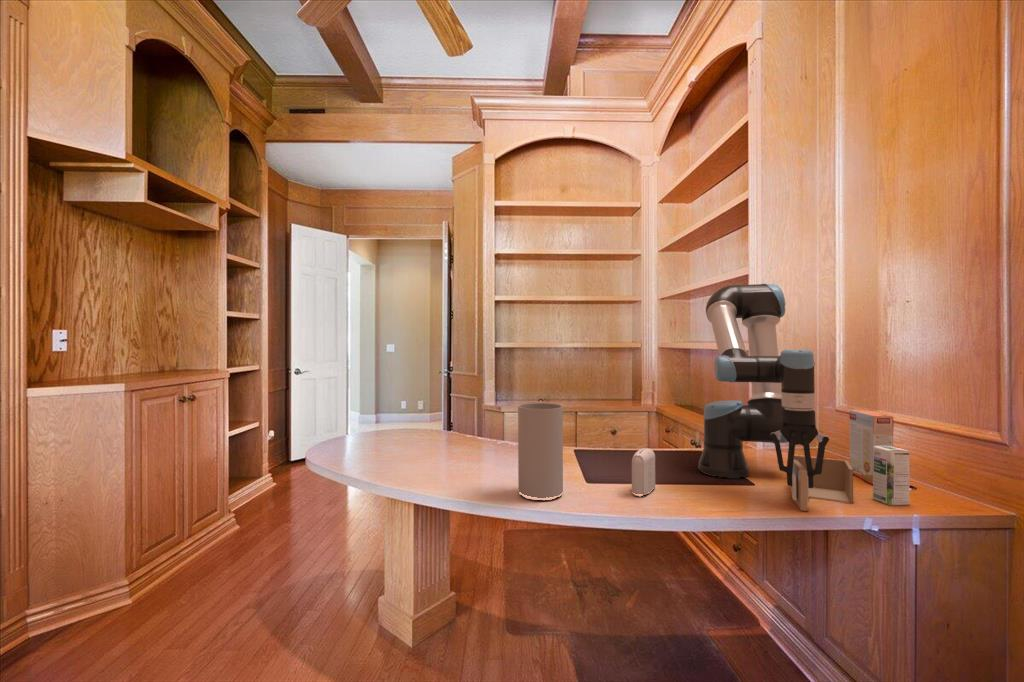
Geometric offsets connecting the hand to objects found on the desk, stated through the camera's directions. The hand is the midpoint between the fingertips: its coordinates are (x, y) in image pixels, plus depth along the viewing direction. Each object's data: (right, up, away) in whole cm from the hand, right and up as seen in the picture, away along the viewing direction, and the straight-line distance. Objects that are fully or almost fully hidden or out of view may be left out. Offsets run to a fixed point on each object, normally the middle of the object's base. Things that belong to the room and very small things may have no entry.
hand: (800, 499), depth 123 cm
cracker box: (+37, -2, +24) cm, 44 cm away
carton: (+12, -2, +10) cm, 16 cm away
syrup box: (+26, -2, +3) cm, 27 cm away
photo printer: (-37, -2, +12) cm, 39 cm away
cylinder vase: (-67, -2, +10) cm, 68 cm away
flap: (+1, -2, +2) cm, 3 cm away
